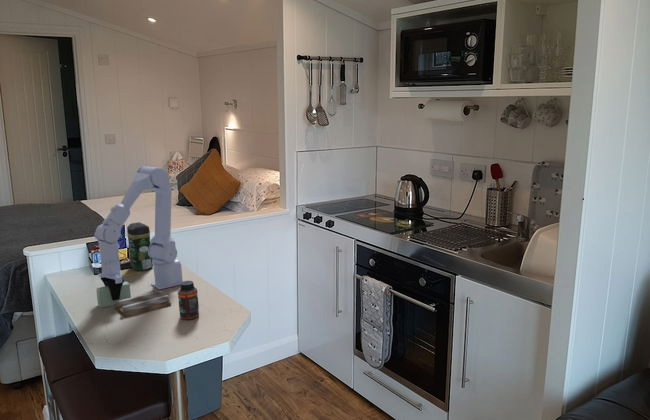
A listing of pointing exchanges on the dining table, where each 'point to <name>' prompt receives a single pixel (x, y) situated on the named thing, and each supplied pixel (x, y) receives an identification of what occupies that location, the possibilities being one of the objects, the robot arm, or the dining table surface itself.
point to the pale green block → (105, 295)
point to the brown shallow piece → (142, 303)
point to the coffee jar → (139, 246)
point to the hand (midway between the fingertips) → (114, 298)
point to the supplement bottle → (188, 300)
